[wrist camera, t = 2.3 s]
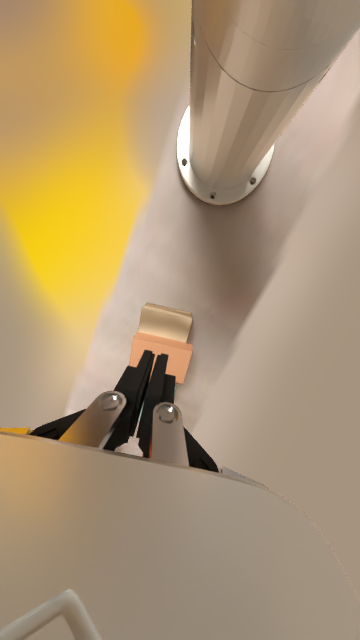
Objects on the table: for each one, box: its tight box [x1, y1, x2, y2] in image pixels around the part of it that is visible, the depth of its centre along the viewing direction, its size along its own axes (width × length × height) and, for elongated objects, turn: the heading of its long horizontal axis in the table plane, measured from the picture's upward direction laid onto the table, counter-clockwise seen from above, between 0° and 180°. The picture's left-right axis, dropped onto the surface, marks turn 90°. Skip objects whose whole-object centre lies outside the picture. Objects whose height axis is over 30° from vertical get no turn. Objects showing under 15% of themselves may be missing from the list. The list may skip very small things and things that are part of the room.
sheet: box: [138, 303, 192, 378], centre depth 31 cm, size 16×8×4 cm, turn 167°
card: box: [129, 332, 193, 384], centre depth 28 cm, size 6×9×2 cm, turn 77°
